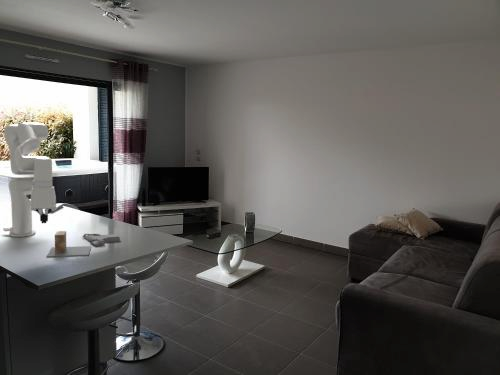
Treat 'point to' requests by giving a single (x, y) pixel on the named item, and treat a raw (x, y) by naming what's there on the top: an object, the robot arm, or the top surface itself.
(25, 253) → the top surface
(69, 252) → the rubber mat
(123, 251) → the top surface
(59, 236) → the wooden block
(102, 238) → the pistol
